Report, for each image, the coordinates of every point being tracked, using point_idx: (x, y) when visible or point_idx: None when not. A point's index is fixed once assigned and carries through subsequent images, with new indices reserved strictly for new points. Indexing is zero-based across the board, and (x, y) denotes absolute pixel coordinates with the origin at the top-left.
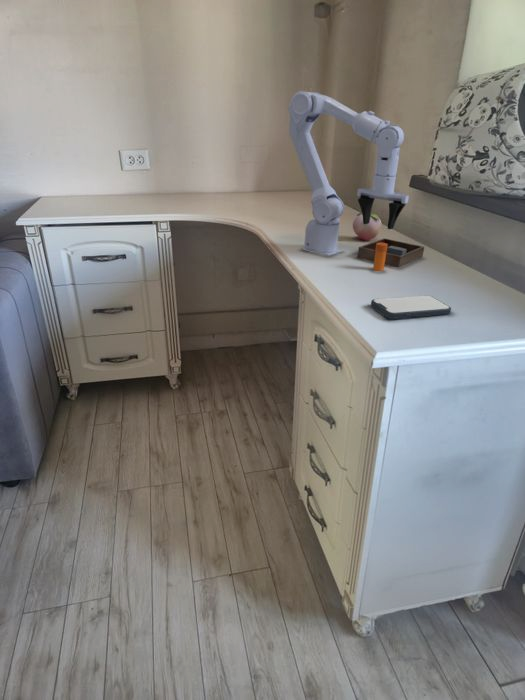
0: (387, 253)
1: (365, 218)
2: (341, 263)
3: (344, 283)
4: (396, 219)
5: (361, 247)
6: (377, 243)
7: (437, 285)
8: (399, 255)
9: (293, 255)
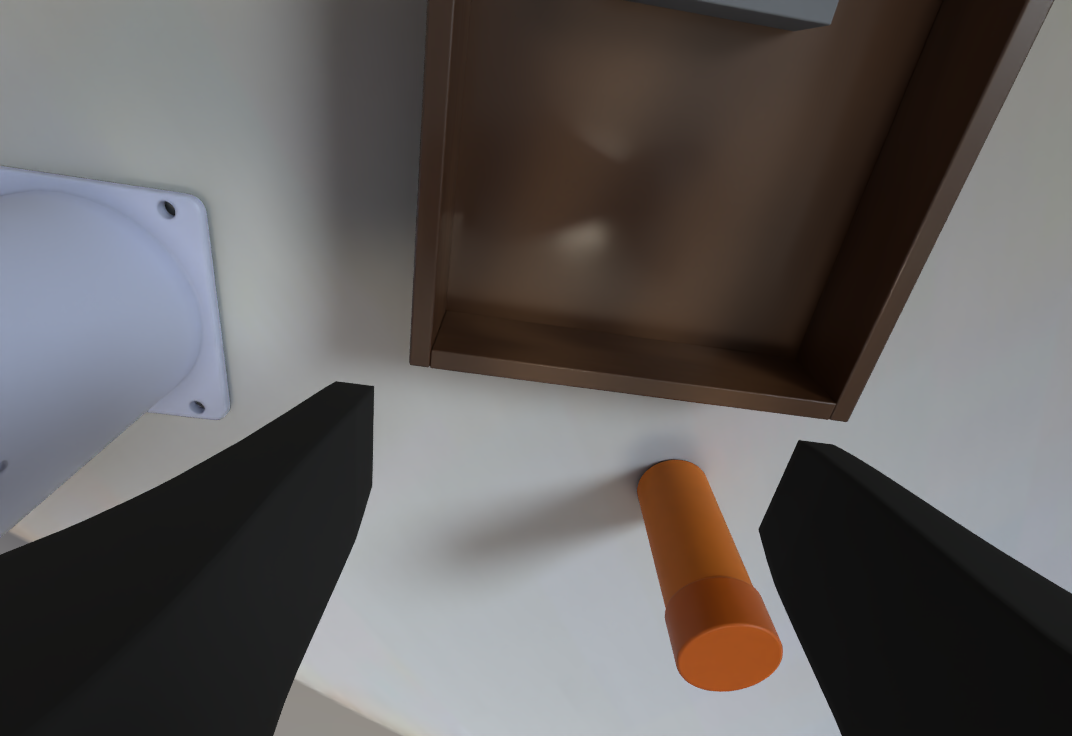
0: (719, 398)
1: (339, 571)
2: (398, 479)
3: (577, 709)
4: (968, 539)
5: (437, 362)
6: (688, 669)
7: (1059, 516)
8: (773, 27)
9: (48, 511)
